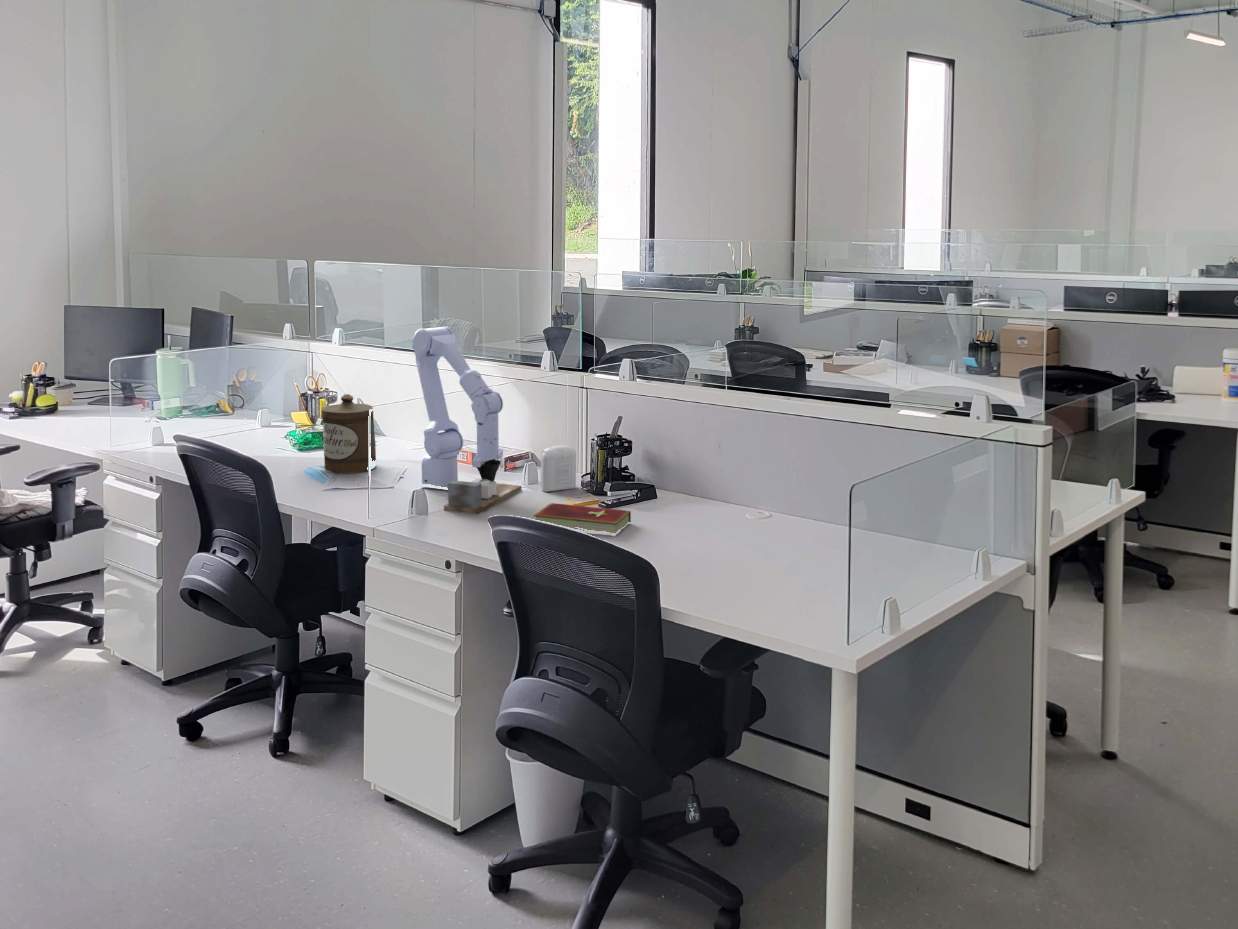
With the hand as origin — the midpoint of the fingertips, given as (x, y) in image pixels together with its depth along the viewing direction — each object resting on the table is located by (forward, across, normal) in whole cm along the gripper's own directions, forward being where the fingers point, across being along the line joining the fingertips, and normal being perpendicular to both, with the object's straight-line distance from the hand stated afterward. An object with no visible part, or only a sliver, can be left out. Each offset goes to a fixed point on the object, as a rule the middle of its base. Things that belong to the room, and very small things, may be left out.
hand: (488, 487), depth 289 cm
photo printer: (+3, +15, -14) cm, 21 cm away
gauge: (+1, -5, -1) cm, 6 cm away
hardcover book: (+3, -15, -33) cm, 36 cm away
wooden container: (+3, +15, +52) cm, 54 cm away
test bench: (+3, -3, 0) cm, 4 cm away
